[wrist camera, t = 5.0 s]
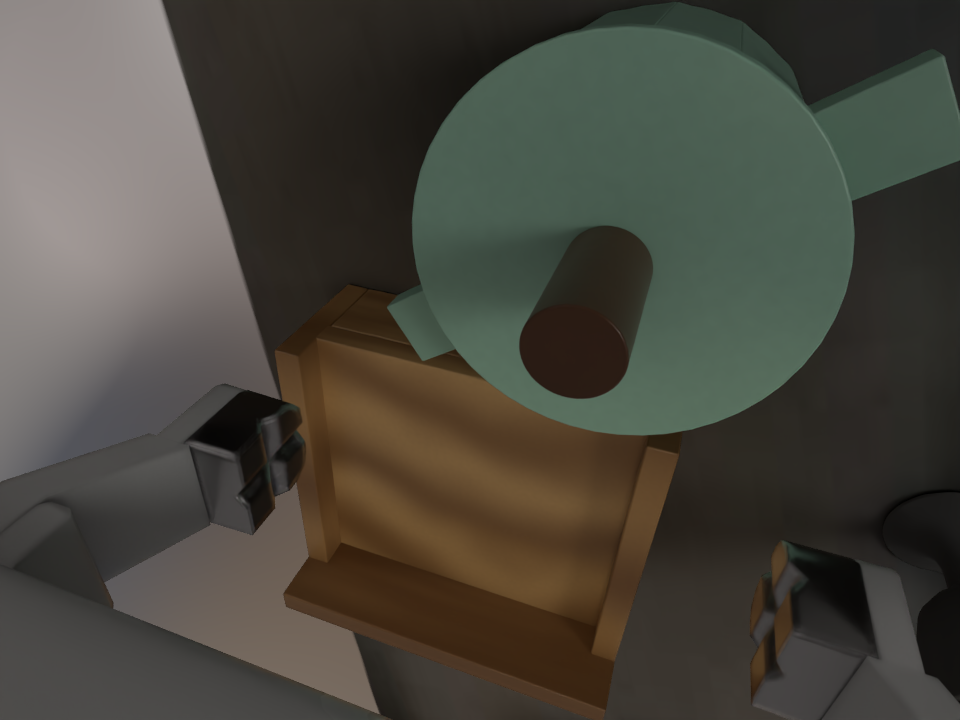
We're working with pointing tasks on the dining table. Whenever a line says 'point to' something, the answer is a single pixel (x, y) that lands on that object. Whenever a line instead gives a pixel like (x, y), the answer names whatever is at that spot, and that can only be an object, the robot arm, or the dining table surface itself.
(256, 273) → the dining table surface
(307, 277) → the dining table surface
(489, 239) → the lid
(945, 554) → the sundae
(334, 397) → the brown wooden open box
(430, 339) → the pot
